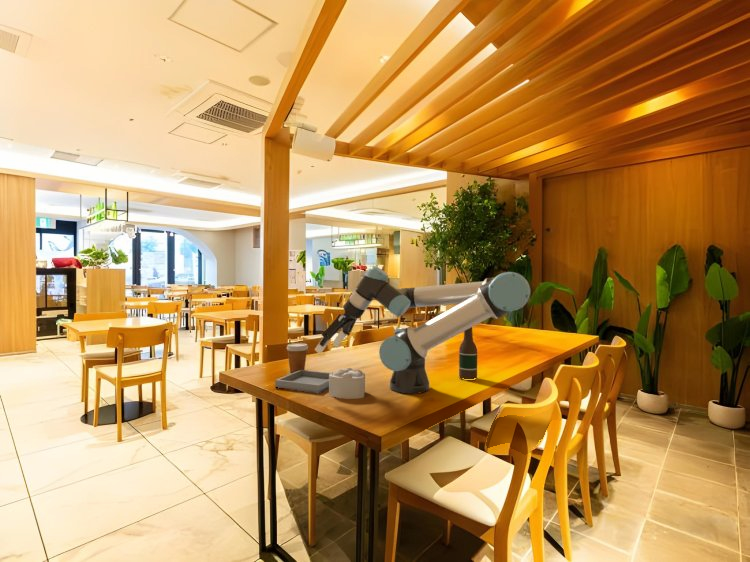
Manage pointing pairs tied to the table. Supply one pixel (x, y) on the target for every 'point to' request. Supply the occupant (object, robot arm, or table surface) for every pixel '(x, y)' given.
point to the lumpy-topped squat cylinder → (347, 384)
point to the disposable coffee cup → (297, 356)
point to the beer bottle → (468, 356)
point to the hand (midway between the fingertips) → (326, 348)
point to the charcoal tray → (305, 381)
